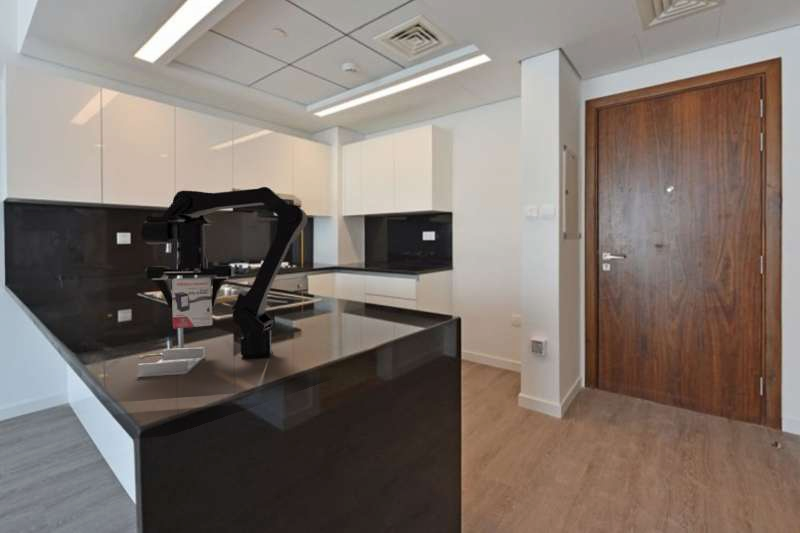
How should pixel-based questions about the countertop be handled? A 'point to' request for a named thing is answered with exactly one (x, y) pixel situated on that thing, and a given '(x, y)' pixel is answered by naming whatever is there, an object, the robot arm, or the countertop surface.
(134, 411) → the countertop surface
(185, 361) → the socket
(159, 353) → the key
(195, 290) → the ink box
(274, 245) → the robot arm
